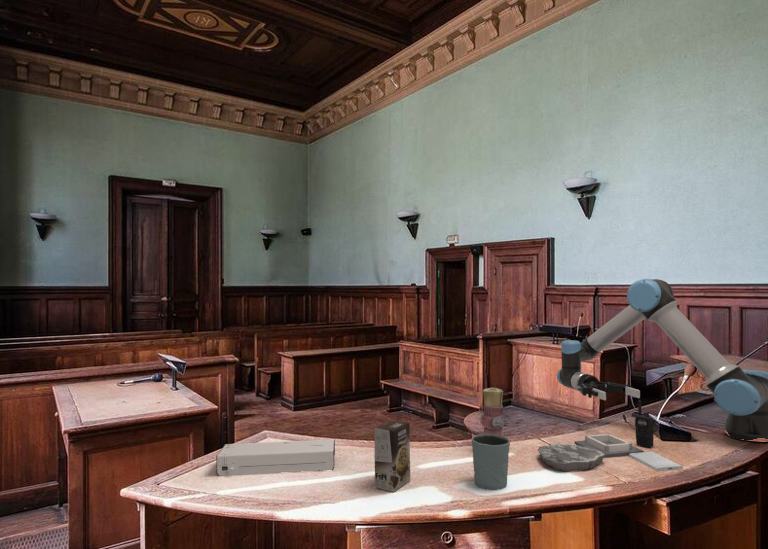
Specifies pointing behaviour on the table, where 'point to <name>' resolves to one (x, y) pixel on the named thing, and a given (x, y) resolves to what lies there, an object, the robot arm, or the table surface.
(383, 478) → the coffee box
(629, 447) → the charging cradle
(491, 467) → the grey cup
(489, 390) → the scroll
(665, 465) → the hard drive
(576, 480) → the table surface
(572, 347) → the robot arm
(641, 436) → the two-way radio
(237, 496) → the table surface
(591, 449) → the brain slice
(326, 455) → the laminator
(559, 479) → the table surface
